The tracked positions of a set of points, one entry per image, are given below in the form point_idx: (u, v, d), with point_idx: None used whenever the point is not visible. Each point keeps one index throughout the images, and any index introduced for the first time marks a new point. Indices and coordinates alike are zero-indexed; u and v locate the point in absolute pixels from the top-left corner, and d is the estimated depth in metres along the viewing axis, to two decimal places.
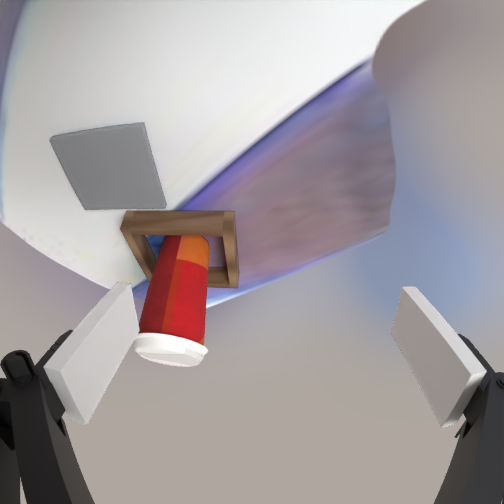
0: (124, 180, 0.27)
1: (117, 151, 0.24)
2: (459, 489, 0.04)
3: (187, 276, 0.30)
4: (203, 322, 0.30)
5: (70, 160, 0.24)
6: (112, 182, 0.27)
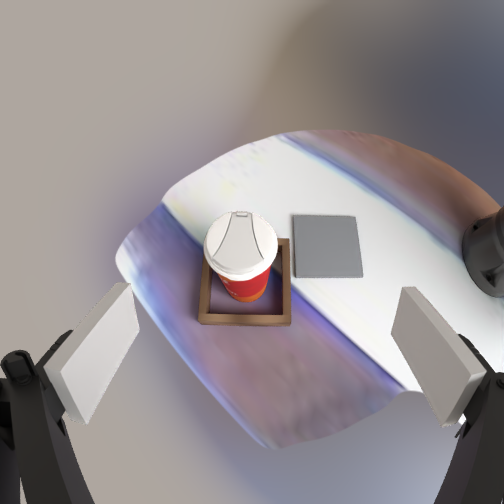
0: (322, 254, 0.44)
1: (346, 257, 0.44)
2: (458, 489, 0.04)
3: (266, 280, 0.37)
4: (244, 283, 0.33)
5: (339, 224, 0.46)
6: (320, 246, 0.45)
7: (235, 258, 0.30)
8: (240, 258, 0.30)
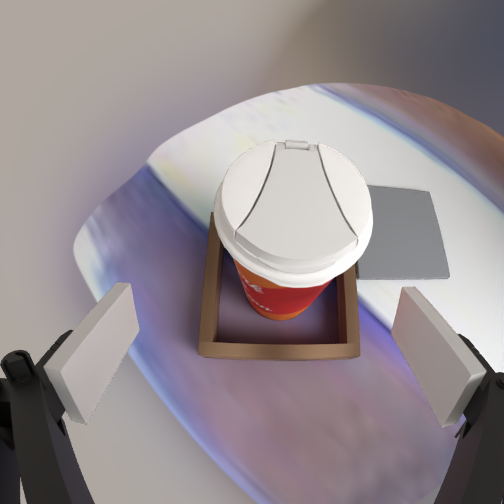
0: (395, 243, 0.27)
1: (426, 248, 0.26)
2: (458, 489, 0.04)
3: None
4: (299, 292, 0.15)
5: (411, 200, 0.29)
6: (390, 230, 0.27)
7: (292, 234, 0.12)
8: (304, 234, 0.12)
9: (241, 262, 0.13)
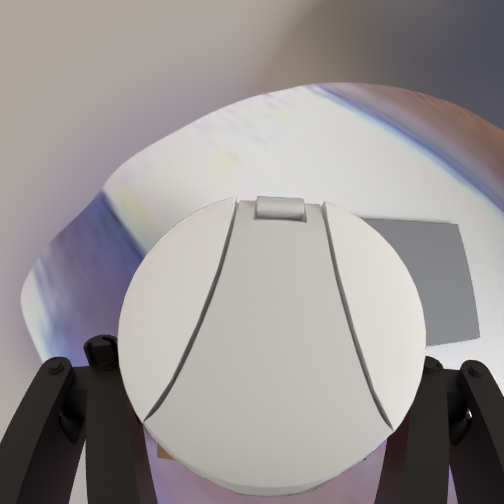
0: None
1: (454, 303, 0.19)
2: (396, 483, 0.05)
3: None
4: None
5: (437, 237, 0.22)
6: None
7: (258, 438, 0.05)
8: (284, 438, 0.05)
9: (168, 453, 0.06)
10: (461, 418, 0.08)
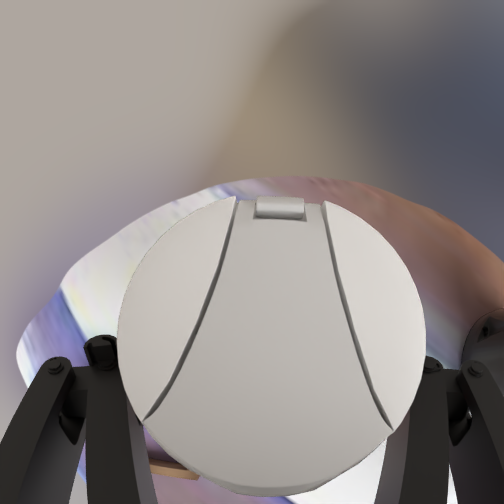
0: None
1: None
2: (395, 483, 0.05)
3: None
4: None
5: None
6: None
7: (258, 438, 0.05)
8: (283, 438, 0.05)
9: None
10: (461, 418, 0.08)
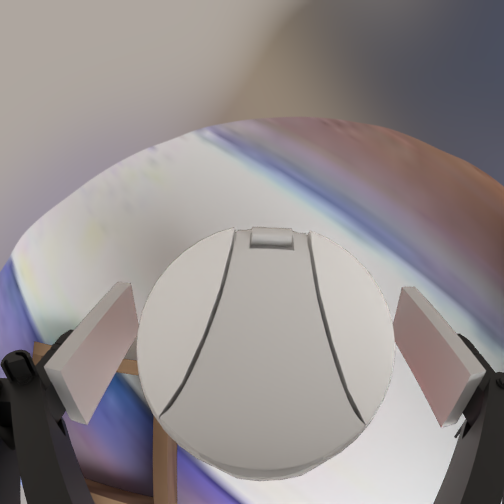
0: None
1: None
2: (458, 489, 0.04)
3: None
4: None
5: None
6: None
7: (253, 428, 0.06)
8: (274, 428, 0.06)
9: (178, 444, 0.07)
10: None
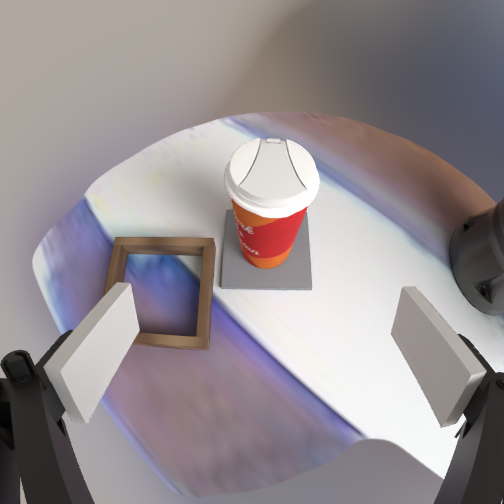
0: None
1: (290, 263, 0.35)
2: (459, 489, 0.04)
3: (296, 234, 0.29)
4: (276, 229, 0.25)
5: None
6: None
7: (269, 187, 0.22)
8: (276, 187, 0.22)
9: (241, 204, 0.23)
10: None
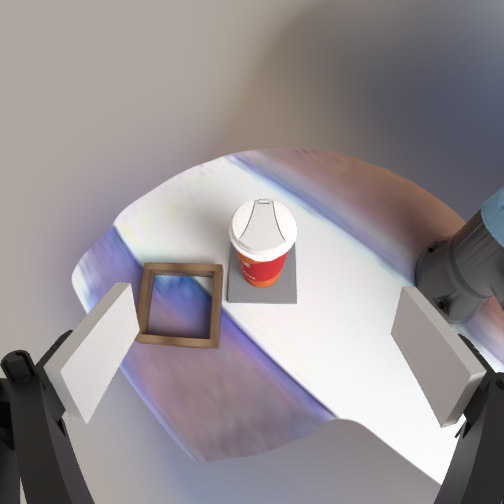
0: None
1: (280, 283, 0.45)
2: (459, 489, 0.04)
3: None
4: (265, 265, 0.36)
5: None
6: None
7: (259, 240, 0.32)
8: (264, 240, 0.32)
9: (240, 251, 0.33)
10: None
